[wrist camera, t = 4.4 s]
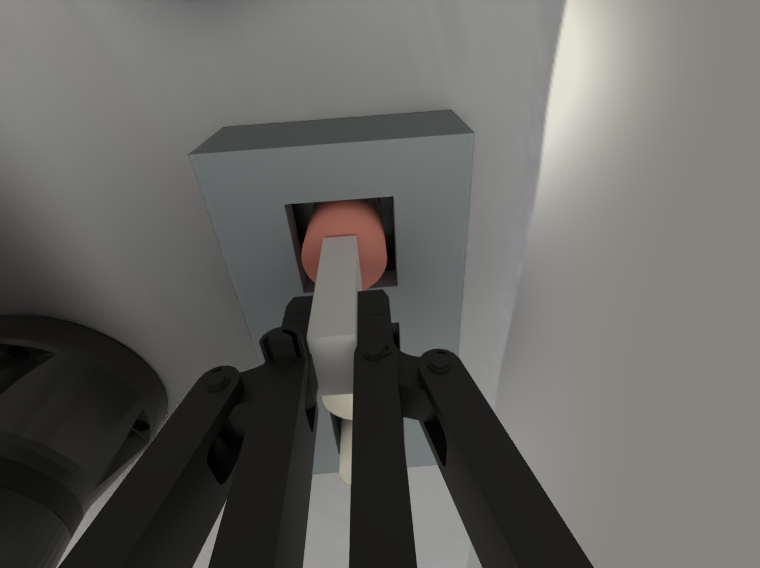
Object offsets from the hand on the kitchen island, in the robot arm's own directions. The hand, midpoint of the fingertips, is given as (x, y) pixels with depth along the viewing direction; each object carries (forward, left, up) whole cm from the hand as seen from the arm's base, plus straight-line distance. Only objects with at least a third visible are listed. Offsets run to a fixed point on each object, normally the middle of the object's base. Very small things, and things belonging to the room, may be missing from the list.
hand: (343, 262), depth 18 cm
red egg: (0, 0, -5) cm, 5 cm away
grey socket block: (-3, -7, -6) cm, 10 cm away
